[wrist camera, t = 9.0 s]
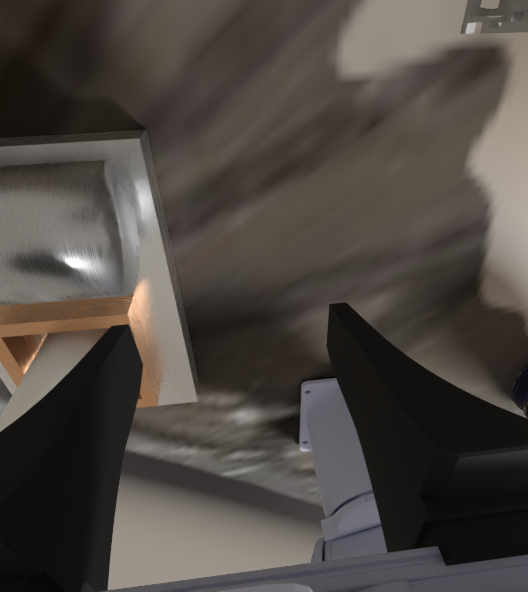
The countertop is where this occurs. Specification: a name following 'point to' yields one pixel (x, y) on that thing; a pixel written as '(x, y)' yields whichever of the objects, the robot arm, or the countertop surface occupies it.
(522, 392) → the storage jar
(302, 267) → the countertop surface
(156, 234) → the white rectangular base assembly
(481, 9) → the circuit breaker
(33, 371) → the white bottle
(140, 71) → the countertop surface
